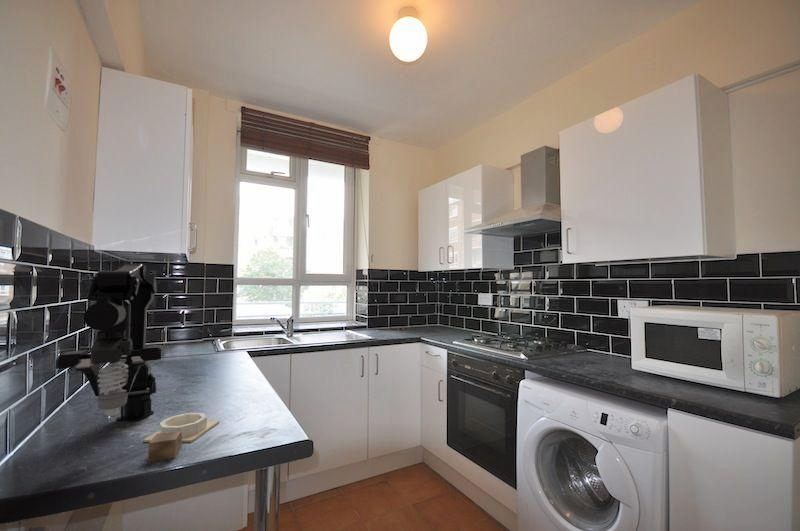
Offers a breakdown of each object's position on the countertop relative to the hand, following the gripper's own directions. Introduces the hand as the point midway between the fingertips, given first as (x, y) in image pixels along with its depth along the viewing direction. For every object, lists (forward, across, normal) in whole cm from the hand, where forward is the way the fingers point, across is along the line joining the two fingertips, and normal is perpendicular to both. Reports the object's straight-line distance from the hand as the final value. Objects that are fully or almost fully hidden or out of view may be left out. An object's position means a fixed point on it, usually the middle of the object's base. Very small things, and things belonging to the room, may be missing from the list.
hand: (113, 394), depth 82 cm
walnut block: (+13, +11, -7) cm, 19 cm away
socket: (+13, +14, +5) cm, 19 cm away
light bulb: (+5, 0, 0) cm, 5 cm away
